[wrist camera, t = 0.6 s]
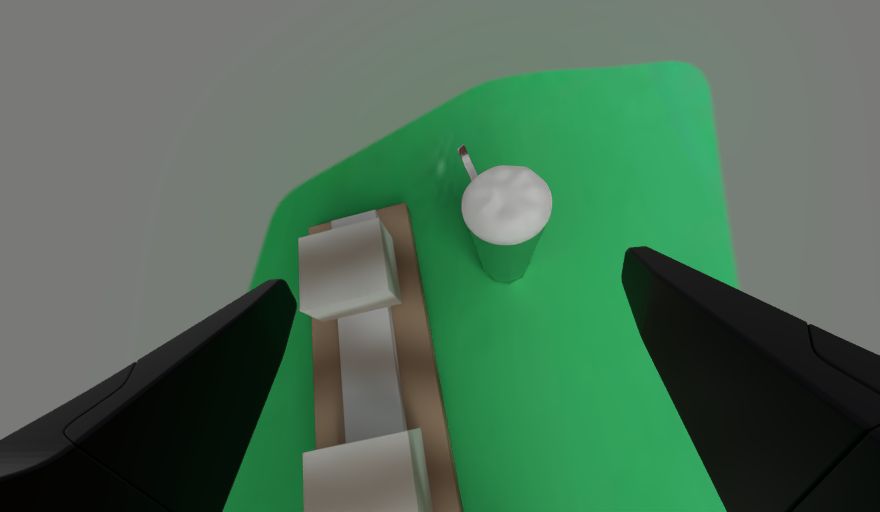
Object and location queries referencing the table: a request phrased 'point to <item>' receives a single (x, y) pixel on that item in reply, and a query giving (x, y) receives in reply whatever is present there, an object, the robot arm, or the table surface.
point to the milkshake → (505, 216)
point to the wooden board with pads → (373, 372)
